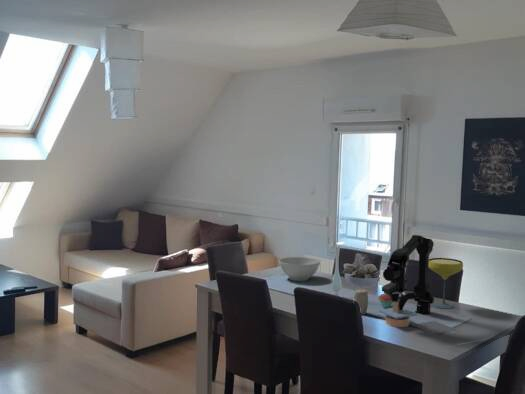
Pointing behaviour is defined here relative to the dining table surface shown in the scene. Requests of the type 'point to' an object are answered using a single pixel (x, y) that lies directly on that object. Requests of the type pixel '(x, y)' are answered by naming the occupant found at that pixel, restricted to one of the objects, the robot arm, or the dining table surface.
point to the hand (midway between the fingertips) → (398, 309)
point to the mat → (434, 327)
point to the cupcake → (385, 300)
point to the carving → (362, 299)
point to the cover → (397, 311)
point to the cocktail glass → (445, 273)
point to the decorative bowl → (299, 267)
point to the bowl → (397, 321)
